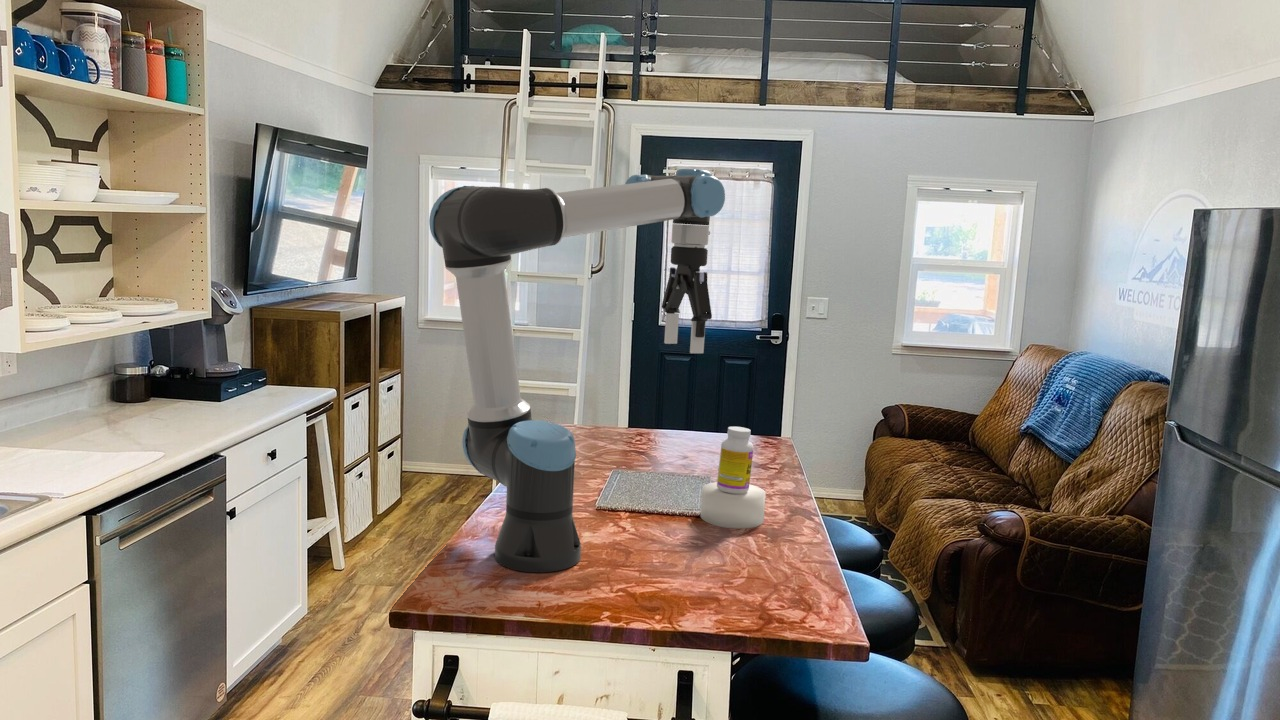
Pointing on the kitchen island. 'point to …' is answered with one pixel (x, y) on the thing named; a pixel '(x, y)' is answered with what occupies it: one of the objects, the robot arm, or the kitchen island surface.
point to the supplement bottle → (735, 461)
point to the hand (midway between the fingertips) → (683, 348)
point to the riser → (733, 507)
